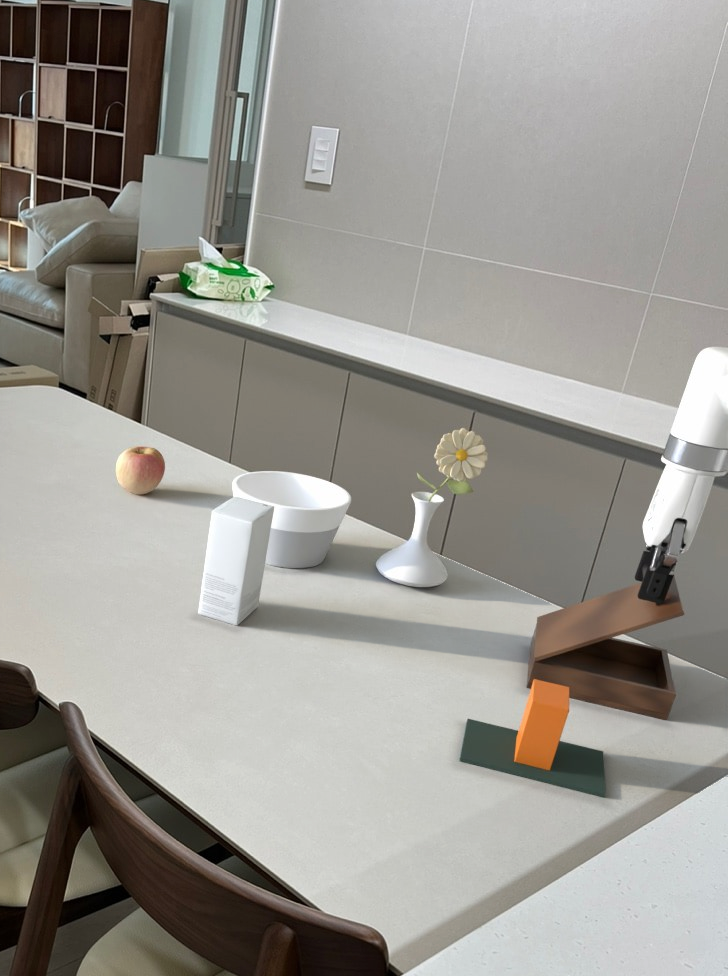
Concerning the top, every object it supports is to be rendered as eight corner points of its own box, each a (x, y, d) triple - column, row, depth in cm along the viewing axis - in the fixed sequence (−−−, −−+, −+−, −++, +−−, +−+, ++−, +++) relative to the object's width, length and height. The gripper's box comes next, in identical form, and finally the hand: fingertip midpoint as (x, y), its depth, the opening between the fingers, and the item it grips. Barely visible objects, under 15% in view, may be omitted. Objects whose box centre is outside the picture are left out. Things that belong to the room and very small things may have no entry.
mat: (602, 754, 126) (603, 751, 125) (604, 797, 117) (605, 793, 117) (466, 721, 129) (467, 718, 129) (459, 761, 121) (460, 757, 120)
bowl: (360, 573, 170) (372, 509, 165) (250, 576, 163) (260, 510, 158) (309, 530, 185) (320, 470, 180) (207, 532, 179) (215, 470, 174)
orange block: (550, 746, 125) (569, 686, 121) (549, 770, 120) (569, 709, 116) (516, 737, 126) (534, 678, 122) (514, 762, 121) (532, 701, 117)
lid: (674, 575, 142) (663, 546, 141) (684, 615, 129) (673, 583, 128) (538, 620, 150) (527, 593, 149) (535, 661, 138) (523, 632, 136)
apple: (166, 489, 197) (171, 446, 194) (154, 502, 190) (158, 459, 186) (122, 481, 199) (125, 439, 195) (108, 494, 191) (111, 450, 187)
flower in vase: (368, 583, 166) (401, 425, 154) (379, 560, 176) (411, 410, 164) (452, 602, 163) (491, 442, 151) (458, 577, 173) (496, 425, 161)
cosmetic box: (220, 596, 155) (234, 494, 148) (261, 608, 153) (277, 505, 146) (195, 615, 148) (209, 508, 141) (238, 627, 146) (254, 520, 139)
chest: (658, 673, 148) (667, 649, 146) (666, 720, 135) (676, 694, 134) (530, 645, 152) (537, 621, 150) (526, 687, 139) (534, 662, 138)
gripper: (659, 433, 136) (615, 563, 145) (670, 466, 121) (620, 608, 130) (721, 445, 134) (672, 575, 143) (739, 479, 120) (684, 623, 128)
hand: (648, 589), depth 136 cm, fingers closed on lid, 6 cm apart
